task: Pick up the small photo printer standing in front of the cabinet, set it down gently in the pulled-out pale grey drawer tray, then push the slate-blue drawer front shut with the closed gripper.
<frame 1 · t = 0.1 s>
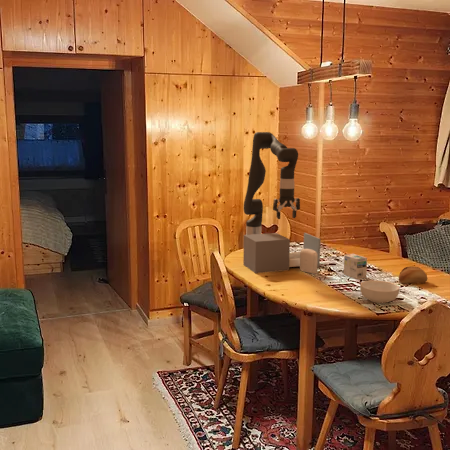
hand: (286, 218, 283), 29 cm above the table, tool pointing down, fingers open, 8 cm apart
drawer tray: (296, 250, 303), point 8 cm above the table, slide at 17.0 cm
cabinet: (266, 267, 299), on the table
light bulb box: (354, 276, 283), on the table
bread roll: (412, 283, 271), on the table
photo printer: (308, 272, 291), on the table
cereal bowl: (378, 301, 244), on the table
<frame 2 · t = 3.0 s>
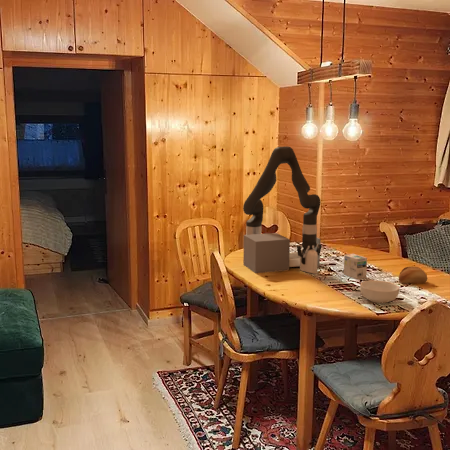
hand: (308, 263, 290), 5 cm above the table, tool pointing down, fingers closed on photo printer, 5 cm apart
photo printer: (308, 272, 291), on the table, touching gripper
everything else where it was.
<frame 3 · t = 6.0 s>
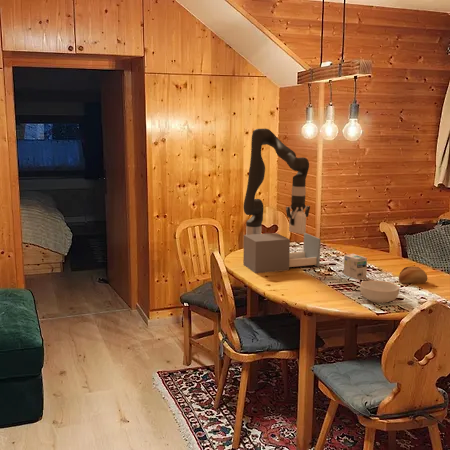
hand: (297, 224, 300), 23 cm above the table, tool pointing down, fingers closed on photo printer, 5 cm apart
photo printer: (297, 233, 301), point 18 cm above the table, touching gripper
everything else where it was.
when the fingers open (8 cm above the table, at t = 9.0 s): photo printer drops 1 cm, resting on drawer tray.
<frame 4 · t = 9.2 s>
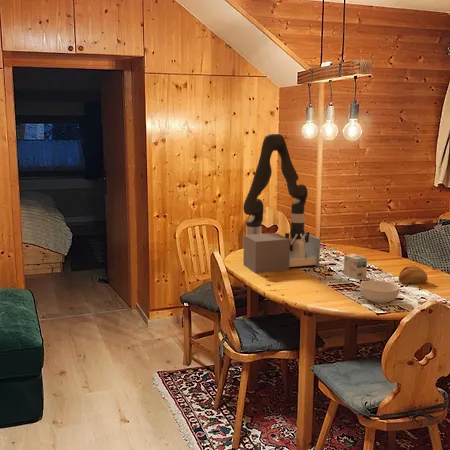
hand: (296, 250, 303), 8 cm above the table, tool pointing down, fingers open, 6 cm apart
drawer tray: (296, 250, 303), point 8 cm above the table, slide at 16.9 cm, touching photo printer
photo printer: (296, 261, 304), point 2 cm above the table, touching drawer tray
everything else where it was.
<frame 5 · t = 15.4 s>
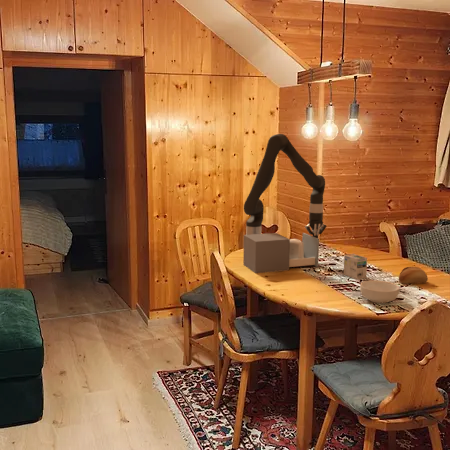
hand: (315, 241, 306), 12 cm above the table, tool pointing down, fingers closed
drawer tray: (295, 250, 303), point 8 cm above the table, slide at 16.2 cm, touching gripper, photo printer
everything else where it was.
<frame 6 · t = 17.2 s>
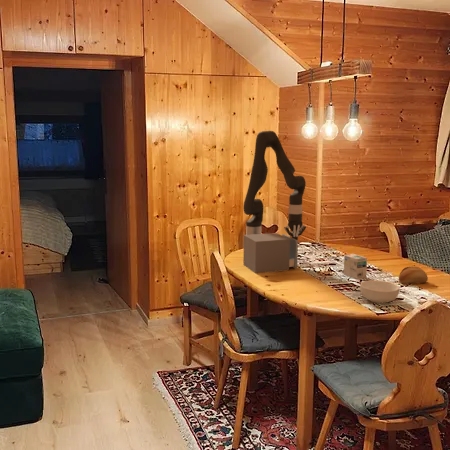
hand: (294, 243, 302), 12 cm above the table, tool pointing down, fingers closed
drawer tray: (274, 252, 299), point 8 cm above the table, slide at 3.5 cm, touching gripper, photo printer
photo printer: (274, 262, 300), point 2 cm above the table, touching drawer tray
everything else where it was.
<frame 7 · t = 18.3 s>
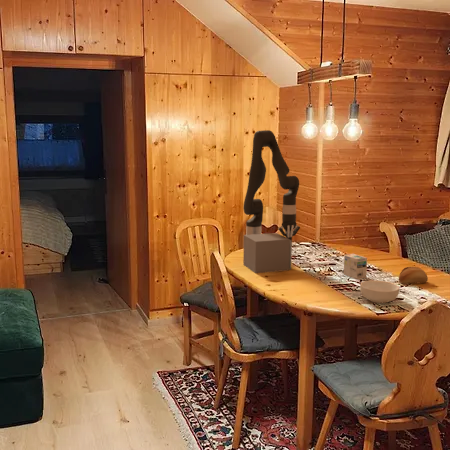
hand: (288, 243, 301), 12 cm above the table, tool pointing down, fingers closed
drawer tray: (268, 252, 298), point 8 cm above the table, slide at -0.1 cm, touching gripper, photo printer
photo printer: (268, 263, 299), point 2 cm above the table, touching drawer tray
everything else where it was.
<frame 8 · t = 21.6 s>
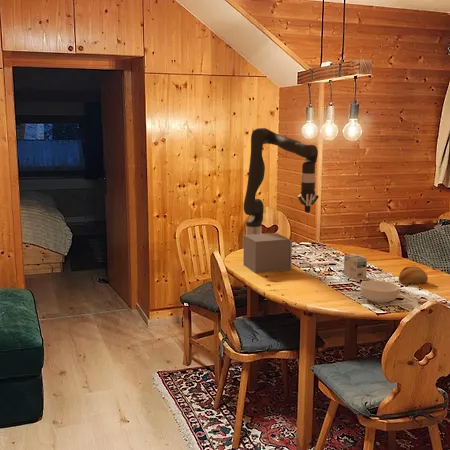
hand: (307, 212, 303), 29 cm above the table, tool pointing down, fingers closed
drawer tray: (268, 252, 298), point 8 cm above the table, slide at 0.0 cm, touching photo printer
everything else where it was.
at the end: drawer tray slide at 0.0 cm; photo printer inside the target area on the cabinet (0.9 cm from its centre), point 2.1 cm above the cabinet's base; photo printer tilted 0° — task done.
